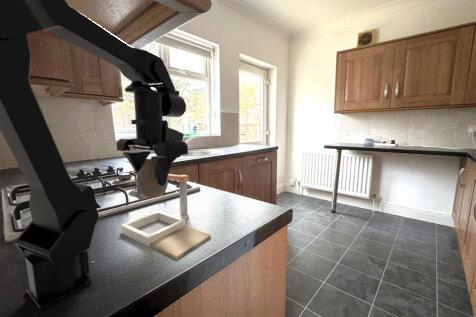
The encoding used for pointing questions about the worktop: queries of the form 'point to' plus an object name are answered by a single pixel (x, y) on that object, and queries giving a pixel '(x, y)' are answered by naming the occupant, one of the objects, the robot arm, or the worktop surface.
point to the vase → (149, 181)
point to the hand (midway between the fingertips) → (152, 182)
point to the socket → (175, 221)
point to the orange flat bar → (178, 177)
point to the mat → (180, 241)
